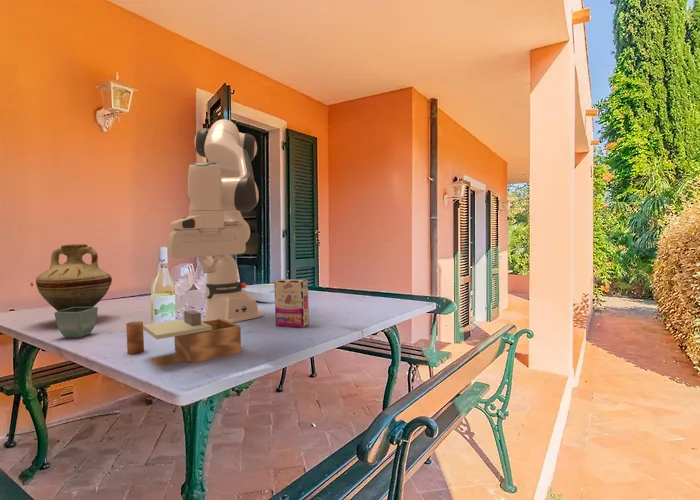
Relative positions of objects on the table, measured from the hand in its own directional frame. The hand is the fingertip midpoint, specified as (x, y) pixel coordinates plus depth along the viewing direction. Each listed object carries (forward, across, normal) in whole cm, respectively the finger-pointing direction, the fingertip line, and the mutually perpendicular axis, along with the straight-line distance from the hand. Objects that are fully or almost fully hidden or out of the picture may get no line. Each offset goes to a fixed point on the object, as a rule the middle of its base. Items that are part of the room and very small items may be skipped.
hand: (209, 272), depth 107 cm
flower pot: (+22, +27, -50) cm, 61 cm away
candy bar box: (+24, -33, -14) cm, 43 cm away
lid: (+14, +9, 0) cm, 17 cm away
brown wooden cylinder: (+22, +17, -12) cm, 30 cm away
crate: (+22, +5, +1) cm, 23 cm away
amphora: (+23, +25, -76) cm, 83 cm away
